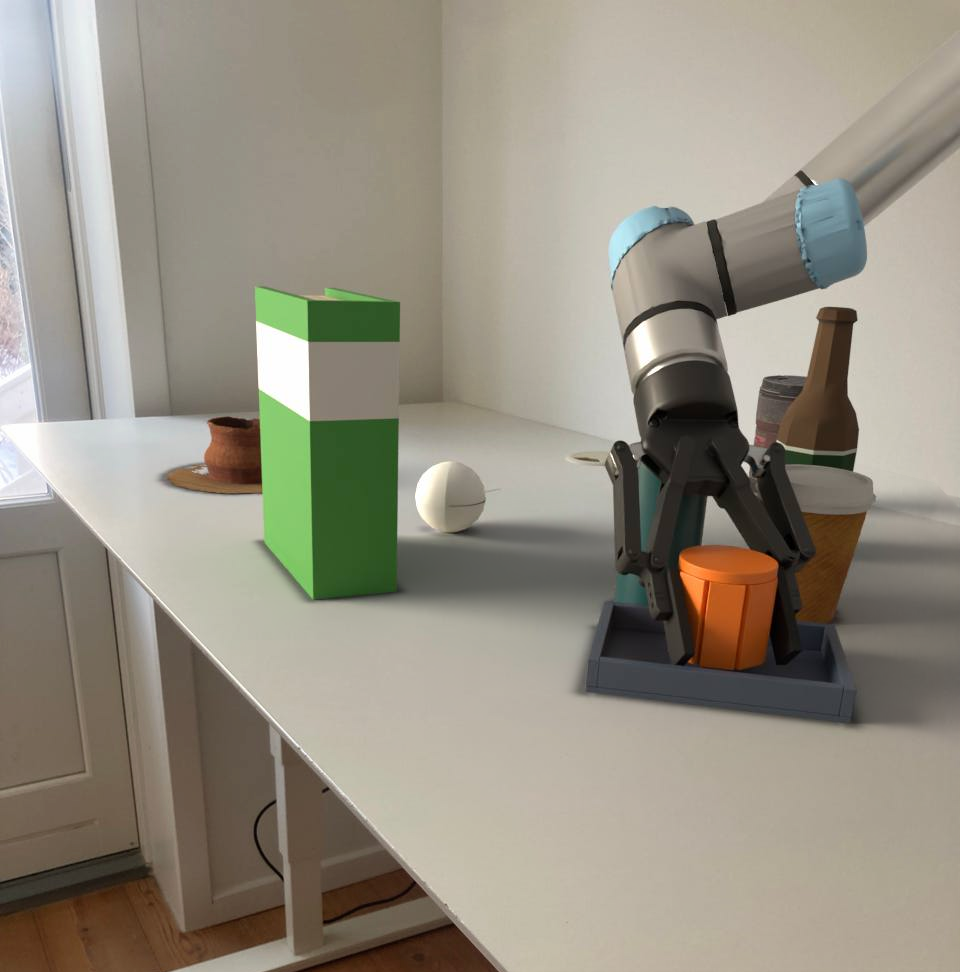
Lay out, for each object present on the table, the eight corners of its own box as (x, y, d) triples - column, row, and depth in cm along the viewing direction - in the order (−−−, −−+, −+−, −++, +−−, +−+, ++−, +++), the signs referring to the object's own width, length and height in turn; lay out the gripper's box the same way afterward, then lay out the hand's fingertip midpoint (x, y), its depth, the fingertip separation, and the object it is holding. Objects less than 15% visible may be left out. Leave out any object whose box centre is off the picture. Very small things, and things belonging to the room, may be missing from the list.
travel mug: (730, 503, 124) (747, 377, 119) (767, 494, 130) (785, 373, 124) (789, 517, 119) (809, 386, 113) (825, 508, 124) (846, 381, 119)
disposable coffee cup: (819, 594, 93) (842, 463, 89) (874, 632, 84) (902, 489, 80) (720, 596, 91) (738, 462, 87) (766, 635, 83) (789, 489, 78)
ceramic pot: (281, 458, 138) (279, 405, 135) (339, 486, 124) (338, 428, 122) (146, 469, 129) (142, 413, 126) (193, 501, 115) (189, 438, 112)
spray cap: (761, 639, 77) (775, 550, 74) (766, 674, 71) (781, 578, 68) (670, 629, 78) (680, 540, 75) (666, 663, 72) (678, 567, 69)
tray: (829, 655, 79) (834, 624, 78) (850, 725, 68) (856, 690, 67) (601, 630, 82) (604, 600, 81) (584, 693, 71) (587, 659, 70)
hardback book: (264, 543, 101) (254, 286, 92) (337, 538, 104) (334, 287, 95) (313, 601, 86) (307, 300, 77) (396, 592, 89) (400, 302, 80)
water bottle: (692, 605, 89) (715, 419, 83) (691, 632, 83) (716, 433, 77) (616, 597, 90) (633, 413, 84) (610, 623, 84) (628, 427, 78)
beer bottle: (794, 563, 102) (835, 310, 93) (745, 542, 108) (779, 304, 100) (854, 556, 105) (899, 311, 96) (803, 536, 112) (841, 305, 103)
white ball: (430, 544, 103) (432, 471, 100) (404, 525, 109) (405, 456, 107) (519, 536, 107) (523, 466, 104) (489, 518, 113) (492, 452, 111)
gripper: (779, 416, 85) (844, 674, 76) (544, 413, 81) (583, 683, 72) (821, 358, 78) (897, 634, 69) (566, 351, 74) (612, 642, 66)
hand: (736, 659), depth 71 cm, fingers closed on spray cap, 7 cm apart
